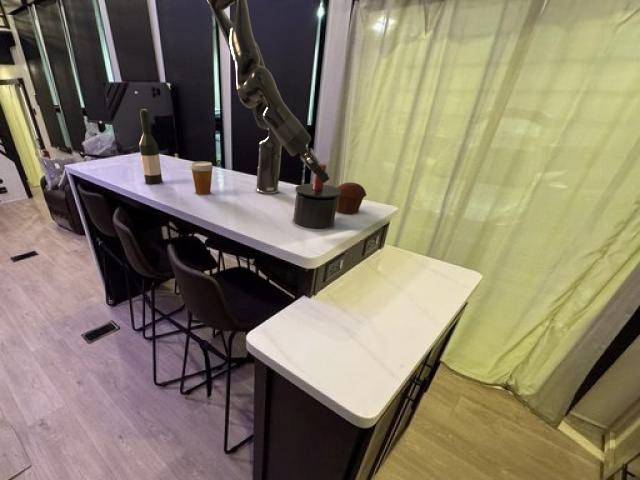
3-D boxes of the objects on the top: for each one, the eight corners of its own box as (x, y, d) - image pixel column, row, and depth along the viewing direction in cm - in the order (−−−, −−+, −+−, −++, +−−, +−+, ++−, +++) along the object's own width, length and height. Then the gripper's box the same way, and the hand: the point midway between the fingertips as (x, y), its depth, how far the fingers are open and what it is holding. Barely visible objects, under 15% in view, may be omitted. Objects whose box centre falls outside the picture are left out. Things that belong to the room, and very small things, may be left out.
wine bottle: (160, 184, 146) (150, 110, 128) (142, 184, 146) (130, 110, 128) (164, 180, 152) (155, 109, 135) (147, 180, 152) (136, 108, 135)
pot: (285, 219, 110) (288, 191, 104) (316, 214, 115) (320, 186, 110) (309, 233, 100) (314, 202, 95) (341, 226, 105) (347, 197, 100)
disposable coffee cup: (211, 189, 141) (209, 160, 134) (216, 195, 133) (215, 165, 127) (190, 190, 138) (188, 161, 131) (194, 196, 131) (192, 166, 124)
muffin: (328, 212, 117) (333, 185, 111) (332, 204, 125) (337, 178, 119) (361, 217, 113) (368, 189, 107) (363, 208, 122) (369, 181, 116)
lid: (286, 189, 104) (289, 162, 99) (320, 185, 110) (324, 159, 105) (313, 202, 94) (318, 172, 89) (349, 196, 99) (356, 167, 94)
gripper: (282, 141, 101) (315, 182, 107) (282, 148, 89) (318, 193, 95) (301, 123, 97) (333, 166, 103) (302, 128, 86) (339, 176, 92)
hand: (326, 179), depth 99 cm, fingers closed on lid, 3 cm apart
